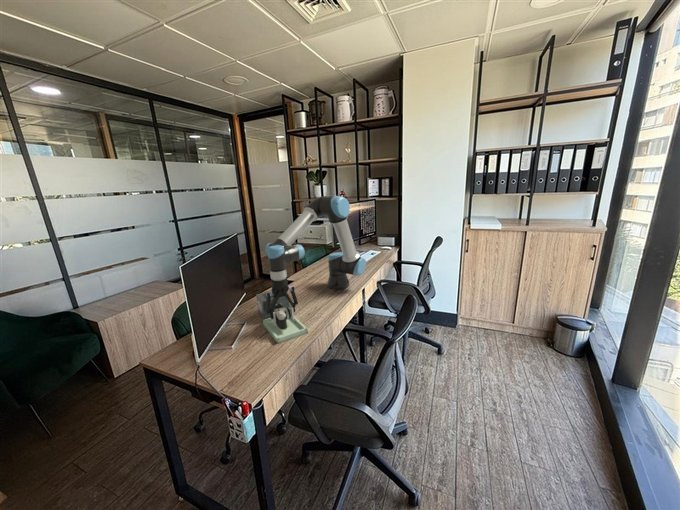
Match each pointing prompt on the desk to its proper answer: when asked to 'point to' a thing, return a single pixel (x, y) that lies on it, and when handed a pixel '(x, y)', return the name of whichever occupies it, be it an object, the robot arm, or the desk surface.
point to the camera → (282, 316)
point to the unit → (262, 304)
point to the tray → (292, 331)
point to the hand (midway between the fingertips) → (283, 321)
